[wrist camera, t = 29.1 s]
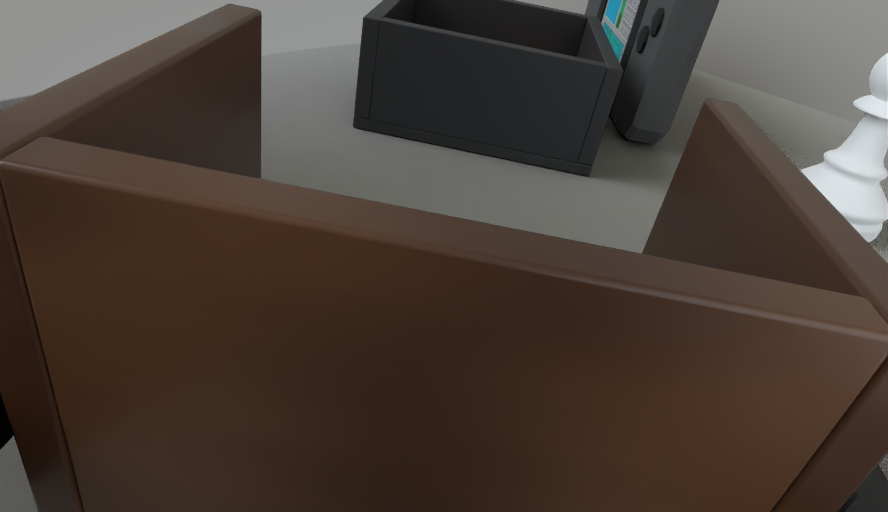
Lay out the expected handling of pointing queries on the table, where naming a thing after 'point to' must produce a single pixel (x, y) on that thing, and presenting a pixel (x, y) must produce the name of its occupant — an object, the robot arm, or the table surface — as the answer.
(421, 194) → the table surface
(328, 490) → the crate
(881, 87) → the chess pawn
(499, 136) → the basket
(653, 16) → the handheld gaming console
